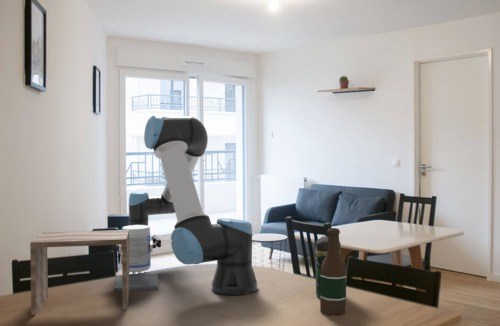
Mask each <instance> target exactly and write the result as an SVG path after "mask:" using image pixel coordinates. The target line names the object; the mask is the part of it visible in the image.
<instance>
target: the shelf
mask: <svg viewBox="0 0 500 326" xmlns="http://www.w3.org/2000/svg"><path fill="white" fill-rule="evenodd" d="M112 245H122V253H121V267H122V275H121V277H122V291H121V292H122V295H121V296H122V310H124V311H125V310H127V309H128V305H129V299H130V290H129V276H130V272H129V230H122V229H117V230H116V229H115V230H113V229H112V230H109V229H107V230H80V231H79V230H78V231H77V230H75V231H48V232H47V231H46V232H42V233H41V234H39V235H38V236H36V237H35V238H34V239H33V240H32V241H30V248H29V249H30V251H29V252H30V314H31V316H37V314H38V313H39V311H40V310H41V308H42V307H43V305H44V304H45V302H46V301H47V299H48V298H49V286H48V285H49V280H48V279H49V278H48V277H49V276H48V275H49V274H48V271H49V269H48V265H49V264H48V248H62V247H63V248H64V247H89V246H94V247H95V246H112Z"/></svg>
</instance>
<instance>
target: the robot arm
mask: <svg viewBox="0 0 500 326" xmlns="http://www.w3.org/2000/svg"><path fill="white" fill-rule="evenodd" d="M143 136H144V137H143V139H144V145H145V148H147V149H149V150H153V153H154V156H155V157H156V158H158V159H159V160H160V161H161V166H162V169H163V173H164V177H165V179H166V184H165V187H164V188H163V191H162V193H161V195H155V196H154V195H153V196H152V195H149V193H148V192H146V191H133V192H131V193H129V197H128V226H130V225H147V226H149V216H156V215H166V214H167V215H169V214H175V216H176V219H177V220H176V222H175V224H174V227H173V228H174V230H173V231H172V232H171V234H170V235H171V236H170V240H171V242H170V244H171V249H172V251H173V254H174V256H175V258H176V259H177V260H178V261H179V262H180V263H182V264H183V265H200V264H203V263H210V262H216V268H215V272H214V274H213V275H214V276H213V279H212V281H211V290H212V291H213V292H214V293H217V294H221V295H227V296H238V295H239V296H240V295H247V294H252V293H254V292H256V291H257V290H258V280H257V279H256V275H255V272H254V268H253V227H252V224H251V222H249V221H247V220H243V219H236V218H234V219H233V218H225V217H223V218H217V220H216V223H215V224H214V223H213V224H212V221H211V219H210V216H209V215H208V214H206V213H204V212H203V208H202V205H201V201H200V199H199V194H198V191H197V188H196V184H195V180H194V178H193V171H194V170H195V167H196V165H197V162H198V161H199V159H200V157H202V156H203V155H204V154H205V152H206V149H207V148H208V139H209V138H208V137H209V136H208V132H207V128H205V125H204V124H203V123H202V122H201V121H200V120H199V119H197V118H196V117H193V116H188V115H185V116H184V115H164V114H161V115H158V114H157V115H152V116H150V117H149V119H148V120H147V122H146V125H145V127H144V135H143ZM161 247H162V239H160V238H159V237H158V236H157V235H156V234H154V235H150V254H151V253H153V250H154V249H156V248H161ZM111 249H112V250H114V249H116V251H117V252H118V254H119V255H120V254H121V255H122V245H111Z"/></svg>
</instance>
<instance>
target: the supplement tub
mask: <svg viewBox="0 0 500 326" xmlns="http://www.w3.org/2000/svg"><path fill="white" fill-rule="evenodd" d="M121 230H129V273H140V272H146V271H148V270H150V269H151V265H152V264H151V257H152V256H151V253H150V238H151V228H150V225H148V226H147V225H130V226H129V225H124V226H122V228H121Z"/></svg>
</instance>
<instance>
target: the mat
mask: <svg viewBox="0 0 500 326" xmlns="http://www.w3.org/2000/svg"><path fill="white" fill-rule="evenodd" d="M158 280H159V279H158V274H150V275H148V274H147V275H146V274H145V275H129V291H139V290H141V291H143V290H158V289H159V283H158ZM113 289H114V290H113V291H114V292H122V276H117V277H116V280H115V284H114V287H113Z"/></svg>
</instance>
